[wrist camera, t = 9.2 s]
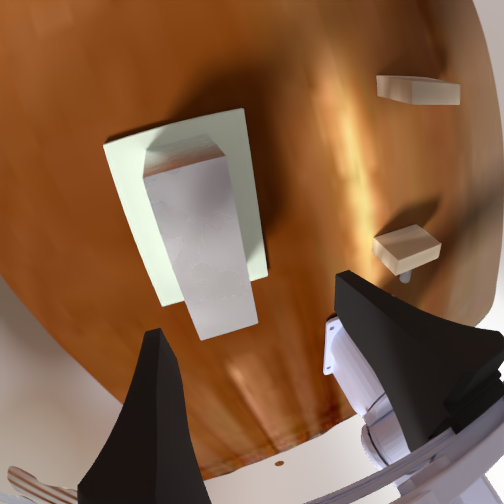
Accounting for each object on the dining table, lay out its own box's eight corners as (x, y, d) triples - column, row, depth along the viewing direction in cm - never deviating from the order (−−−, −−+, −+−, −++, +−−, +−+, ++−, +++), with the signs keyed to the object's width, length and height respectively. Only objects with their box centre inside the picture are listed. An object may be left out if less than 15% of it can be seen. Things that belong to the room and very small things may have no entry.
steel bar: (237, 273, 22) (258, 322, 18) (189, 287, 22) (200, 340, 18) (207, 133, 16) (225, 155, 12) (145, 150, 16) (142, 178, 12)
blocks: (410, 258, 28) (432, 279, 25) (369, 273, 27) (391, 297, 24) (425, 77, 18) (460, 84, 15) (376, 75, 17) (411, 80, 14)
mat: (266, 272, 23) (267, 275, 23) (162, 302, 22) (162, 306, 22) (241, 107, 16) (243, 108, 16) (104, 143, 15) (103, 145, 15)
